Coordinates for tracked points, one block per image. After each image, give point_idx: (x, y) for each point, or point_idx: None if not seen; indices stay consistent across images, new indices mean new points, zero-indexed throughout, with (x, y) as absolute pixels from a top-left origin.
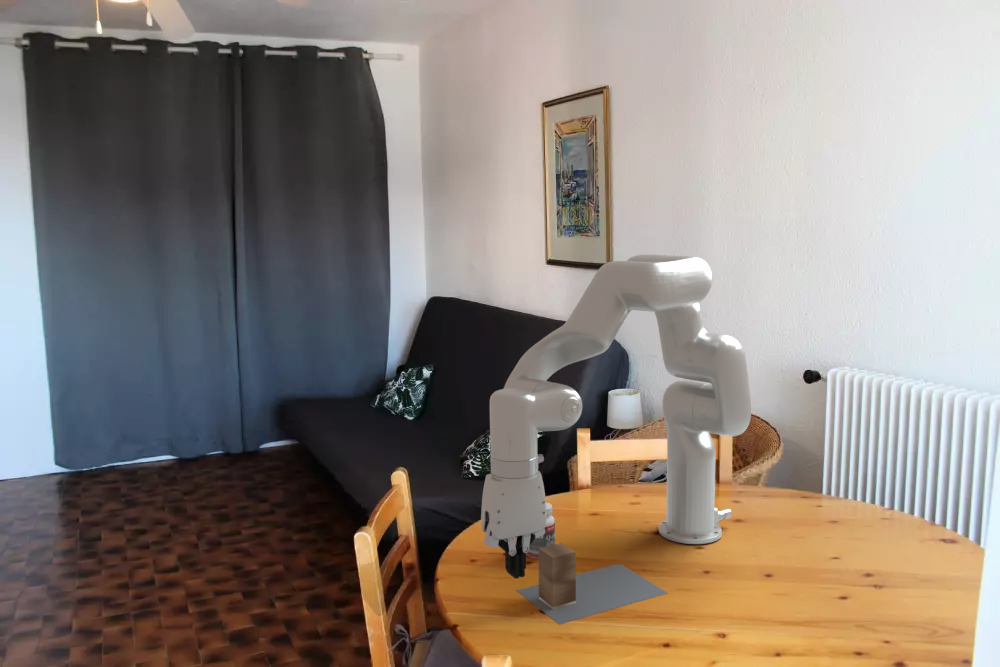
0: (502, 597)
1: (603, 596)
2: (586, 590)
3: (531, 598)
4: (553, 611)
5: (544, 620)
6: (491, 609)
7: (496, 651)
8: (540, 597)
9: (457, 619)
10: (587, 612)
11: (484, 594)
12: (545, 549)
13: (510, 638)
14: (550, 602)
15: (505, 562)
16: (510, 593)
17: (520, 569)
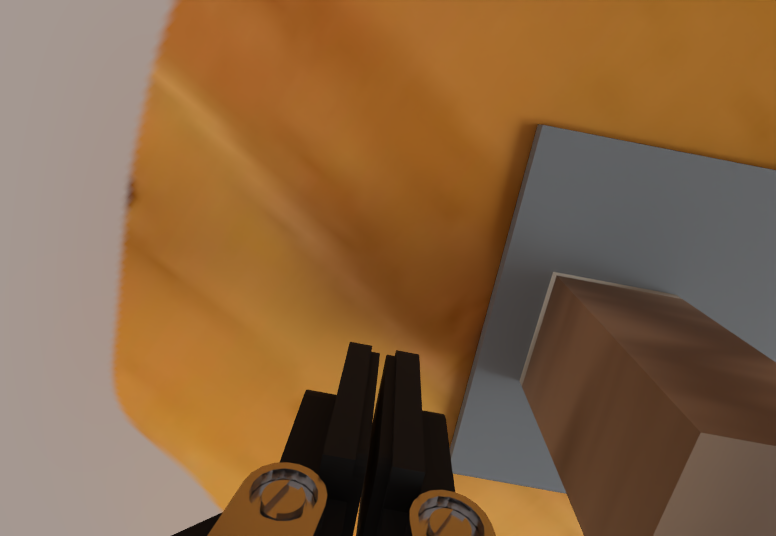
0: (456, 109)
1: None
2: (772, 352)
3: (529, 246)
4: (507, 394)
5: (445, 392)
6: (335, 176)
7: (163, 438)
8: (553, 287)
9: (153, 150)
10: None
11: (407, 12)
12: (719, 485)
13: (254, 407)
14: (531, 375)
15: (297, 417)
16: (517, 100)
17: (361, 494)
